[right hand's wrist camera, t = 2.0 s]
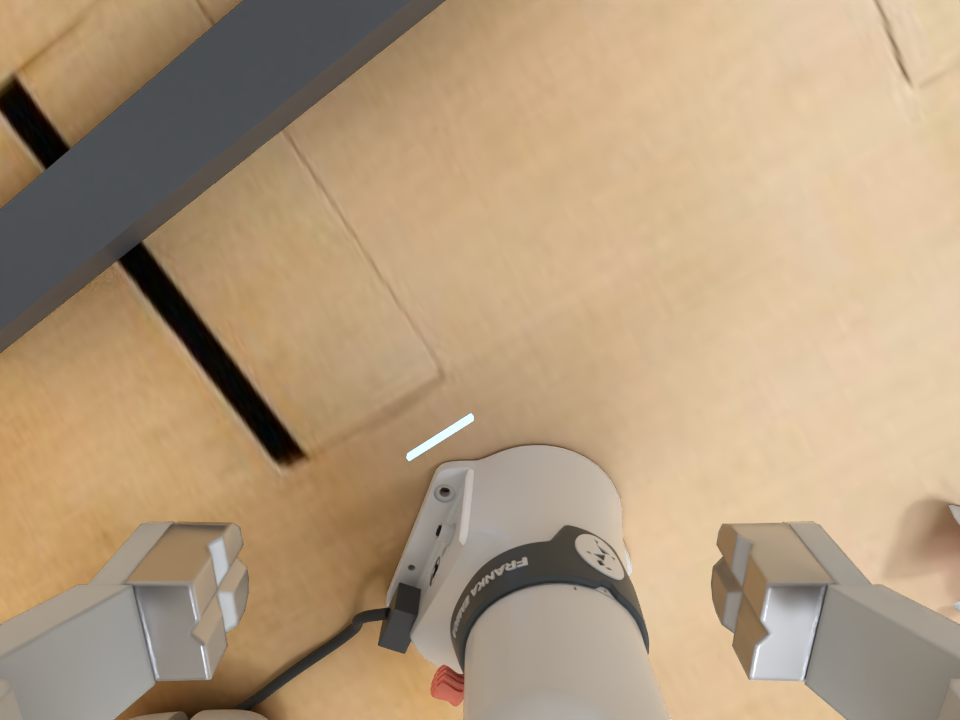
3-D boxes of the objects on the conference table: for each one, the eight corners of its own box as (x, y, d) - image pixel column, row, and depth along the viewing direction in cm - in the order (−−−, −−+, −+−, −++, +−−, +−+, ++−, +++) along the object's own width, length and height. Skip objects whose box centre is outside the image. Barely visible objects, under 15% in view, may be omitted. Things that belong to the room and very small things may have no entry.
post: (-10, 361, 47) (-79, 393, 41) (-66, 307, 45) (-145, 333, 40) (755, -246, 34) (811, -321, 29) (713, -347, 33) (762, -448, 27)
